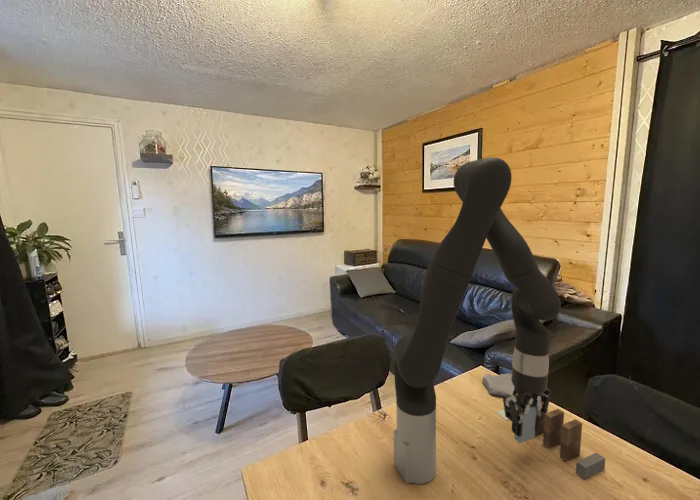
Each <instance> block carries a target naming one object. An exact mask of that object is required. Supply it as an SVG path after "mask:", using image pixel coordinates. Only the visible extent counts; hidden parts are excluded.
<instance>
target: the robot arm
mask: <svg viewBox="0 0 700 500" xmlns="http://www.w3.org/2000/svg"><path fill="white" fill-rule="evenodd" d="M454 173H455V174H454V177H453V188H454V192H455V193H456V195H457V196H458V199H460V200H461V203H462V204H461V206H460V207H461V208H460V211H459V213H458V215H457V218H456V220H455V222H454V224H453V226H451V228H450V230H449V231H448V232H447V233H446V235H445V237H443V239H442V241H441V242H440V243H439V244H438V245H437V247H436V249H435V250H434V252H433V254H432V256H431V259H430V262H429V264H428V267H427V270H426V273H425V276H424V279H423V280H422V281H423V282H422V286H421V291H420V301H419V302H420V303H419V310H418V318H417V323H416V325H415V329H414V331H413V333H408V334H405V335H404V336H402V337H400V338H399V340H398V341H397V343H396V344H395V346H394V347H395V348H394V350H393V367H394V371H393V372H394V389H395V398H396V399H395V400H396V401H395V402H396V405H395V406H396V429H394V430H393V465H394V466H395V468H396V469H397V472H398V473H399V474H400V476H401V477H402V479H403V480H404V482H405V484H406V485H407V484H408V485H409V484H417V485H423V484H427V483H430V482H432V481H433V480H434V478H435V476H436V473H437V394H436V390H435V385H434V384H435V383H434V380H435V379H436V378H437V376H438V375H439V372H440V370H441V367H442V363H443V359H444V355H445V350H446V347H447V342H448V339H449V336H450V333H451V331H452V327H453V325H454V323H455V320H456V319H457V316H458V313H459V310H460V307H461V305H462V302H463V300H464V297H465V296H466V295H465V294H466V293H467V290H468V287H469V285H470V283H471V280H472V276H473V275H474V271H475V268H476V266H477V262H478V260H479V258H480V254H481V253H482V250H483V248H484V245H485V242H486V240H487V242H488V244H489V245H490V248H491V249H492V251H493V254H494V255H495V258H496V259H497V262H498V264H499V266H500V268H501V270H502V272H503V274H504V276H505V278H506V281H508V282H509V284H510V285H512V286H514V287H515V288H514V290H513V291H512V294H511V298H510V306H511V307H510V308H511V314H512V319H513V323H514V327H515V338H514V339H515V340H514V350H513V354H512V363H511V364H512V366H511V374H512V378H511V380H512V383H513V385H514V391H513V394H512V396H511V397H509V398H508V397H507V396H504V397H503V396H502V397H503V398H502V401H503V402H502V403H503V410H505V416H506V417H507V418H508V419H509V420H508V421H510V422H511V431H512V433H513V434H514V435H515V434H516V435H517V436H518V437H520V436H522V426H523V423H522V422H523V419H524V416H525V415H527V414H528V411H529V408H530V407H535V405H536V407H535V409H536V413H537V414H536V423H535V431H536V430H538V426H539V417H541V415H542V412H544V413H546V412H547V413H548V410H547V408H549V404H550V400H551V396H552V390H551V389H549V388H548V381H549V380H548V379H549V368H550V358H549V355H550V354H549V352H550V340H551V339H550V336H551V335H550V331H549V329H548V328H546V327H545V326H544V325H543V324H542V322H541V321H544V322H547V321H552V320H553V319H556V317H557V316H559V313H561V312H560V311H561V308H562V307H561V305H562V304H561V299H560V296H559V293H558V292H557V290H556V289H555V287H554V286H553V285H552V283H551V282H550V281H549V279H547V277H546V275H544V273H543V272H542V271H541V270H540V269H539V266H538V264H537V261H536V259H535V256H534V255H533V252H532V251H531V248H530V247H529V244H528V242H527V241H526V240H525V238H524V237H523V236H522V234H521V233H520V232H519V231H518V230H517V228H516V227H515V226H514V225H513V223H511V221H510V220H509V219H508V217H507V216H506V215H505V213H504V212H503V210H502V206H503V203H504V202H505V199H506V198H507V196H508V193H509V191H510V187H511V185H512V179H513V178H512V177H513V176H512V170H511V167H510V165H509V164H508V163H507V161H505V160H503V159H502V158H499V157H485V158H480V159H475V160H472V161H471V160H470V161H468V162H466V163H464V164H462V165H461V166H460V167H459V168H458V169H457V170H456V172H454ZM541 401H542V402H543V403H544V404H543V406H542V405H541ZM517 405H519V406H520V407H522V408H523V410H521V409H519V408H518V407H517ZM516 411H518V412H519V413H520V414H519V417H518V416H517V413H516Z"/></svg>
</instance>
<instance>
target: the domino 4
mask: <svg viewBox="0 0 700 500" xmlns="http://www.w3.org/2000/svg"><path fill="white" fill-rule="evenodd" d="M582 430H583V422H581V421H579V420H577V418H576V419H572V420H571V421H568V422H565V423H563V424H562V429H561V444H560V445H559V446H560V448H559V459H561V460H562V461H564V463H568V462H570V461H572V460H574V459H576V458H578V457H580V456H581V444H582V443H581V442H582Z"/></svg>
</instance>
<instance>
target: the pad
mask: <svg viewBox="0 0 700 500" xmlns="http://www.w3.org/2000/svg"><path fill="white" fill-rule="evenodd" d="M495 413H496V414H498V415H499V416H500V417H501V418H503V420H505V421H510V420H509V419H508V418H507V417H506V416H505V410H504V409H502V410H501V409H500V410H498V411H495Z"/></svg>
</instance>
